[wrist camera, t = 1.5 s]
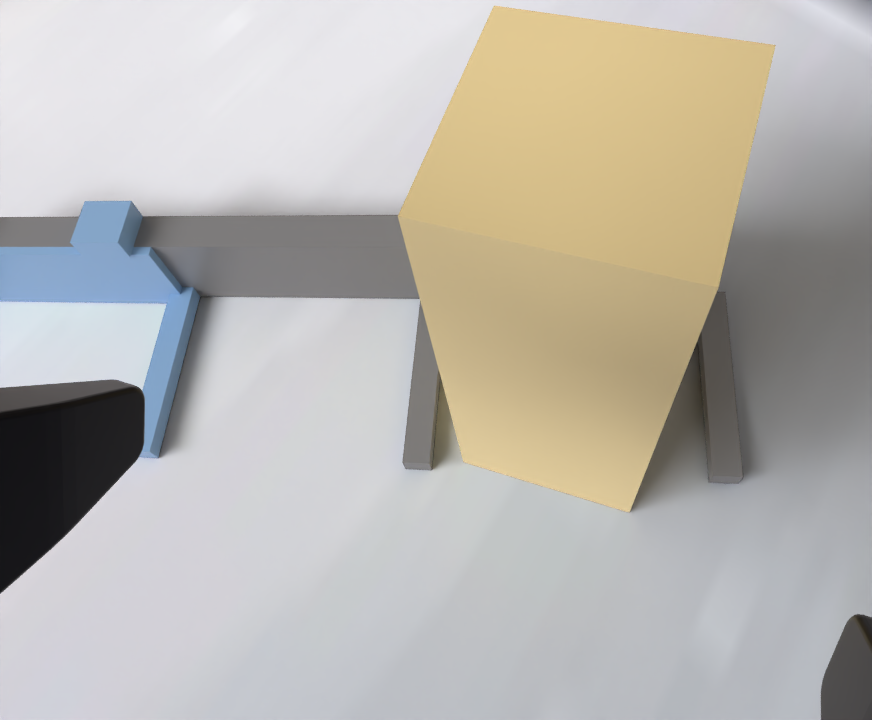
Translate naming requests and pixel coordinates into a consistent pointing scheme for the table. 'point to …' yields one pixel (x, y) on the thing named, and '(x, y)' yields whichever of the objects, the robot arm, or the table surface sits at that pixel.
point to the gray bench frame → (275, 295)
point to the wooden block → (578, 237)
